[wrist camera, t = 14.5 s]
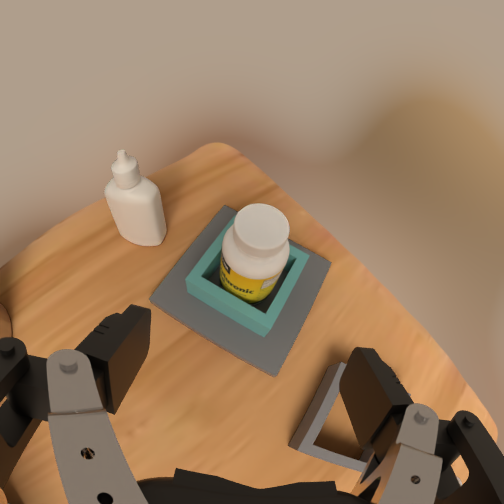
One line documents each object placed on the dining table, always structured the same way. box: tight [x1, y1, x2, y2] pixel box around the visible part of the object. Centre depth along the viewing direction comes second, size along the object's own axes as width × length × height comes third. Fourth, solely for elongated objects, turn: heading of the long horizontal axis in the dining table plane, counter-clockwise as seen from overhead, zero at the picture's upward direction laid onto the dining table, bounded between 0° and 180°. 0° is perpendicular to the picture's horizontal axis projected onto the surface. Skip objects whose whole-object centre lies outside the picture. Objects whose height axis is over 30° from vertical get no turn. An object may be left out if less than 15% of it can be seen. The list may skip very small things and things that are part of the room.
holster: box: [288, 362, 411, 472], centre depth 21 cm, size 9×9×3 cm
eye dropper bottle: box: [104, 150, 167, 246], centre depth 25 cm, size 4×6×12 cm
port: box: [149, 205, 331, 377], centre depth 27 cm, size 14×14×4 cm
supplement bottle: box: [219, 203, 290, 305], centre depth 24 cm, size 5×5×10 cm
